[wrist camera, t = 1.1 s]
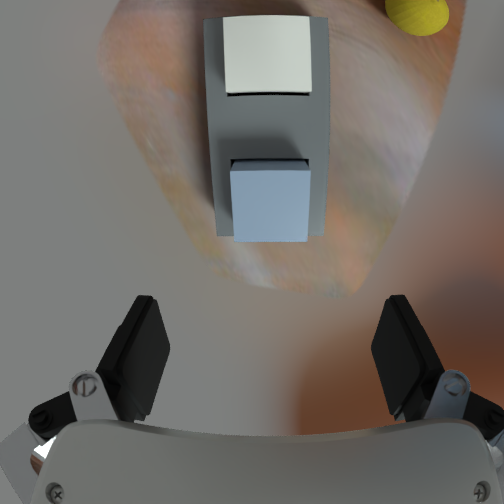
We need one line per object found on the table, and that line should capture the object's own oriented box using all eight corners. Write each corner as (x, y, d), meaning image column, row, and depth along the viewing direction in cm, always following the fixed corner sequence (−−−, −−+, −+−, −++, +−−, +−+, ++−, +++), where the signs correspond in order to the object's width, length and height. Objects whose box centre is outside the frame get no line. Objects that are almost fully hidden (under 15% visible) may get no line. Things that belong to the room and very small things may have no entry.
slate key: (235, 158, 25) (229, 171, 21) (303, 158, 24) (310, 170, 21) (239, 219, 28) (234, 242, 24) (301, 219, 27) (307, 241, 24)
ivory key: (230, 30, 19) (222, 17, 15) (301, 29, 18) (309, 16, 14) (232, 93, 22) (225, 92, 18) (303, 92, 21) (311, 91, 17)
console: (211, 29, 20) (203, 19, 17) (319, 28, 20) (327, 17, 16) (222, 218, 31) (217, 236, 27) (316, 218, 30) (323, 235, 27)
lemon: (363, 8, 18) (394, -16, 11) (396, -12, 16) (431, -35, 9) (400, 49, 20) (441, 39, 13) (430, 27, 18) (473, 16, 11)
